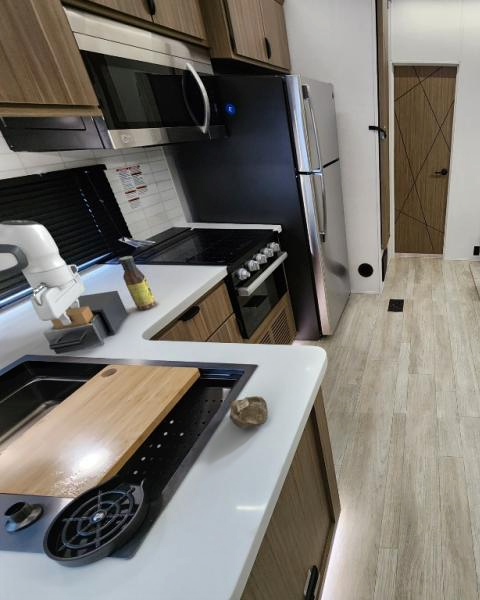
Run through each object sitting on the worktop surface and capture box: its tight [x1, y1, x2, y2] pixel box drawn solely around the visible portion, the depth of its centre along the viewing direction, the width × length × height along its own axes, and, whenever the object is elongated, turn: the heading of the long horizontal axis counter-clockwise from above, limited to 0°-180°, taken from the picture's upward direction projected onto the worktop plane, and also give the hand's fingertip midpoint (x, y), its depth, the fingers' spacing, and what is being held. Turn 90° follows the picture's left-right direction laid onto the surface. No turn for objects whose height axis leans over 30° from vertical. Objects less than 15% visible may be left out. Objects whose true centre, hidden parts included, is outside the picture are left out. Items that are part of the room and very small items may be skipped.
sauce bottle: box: [118, 255, 157, 311], centre depth 122 cm, size 7×6×20 cm
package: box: [50, 306, 94, 329], centre depth 100 cm, size 8×5×4 cm, turn 113°
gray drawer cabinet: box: [68, 290, 128, 337], centre depth 111 cm, size 15×13×10 cm
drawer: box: [42, 312, 110, 355], centre depth 102 cm, size 18×11×8 cm, turn 23°
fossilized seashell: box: [229, 395, 269, 429], centre depth 76 cm, size 8×7×10 cm
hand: (73, 318), depth 100 cm, fingers closed on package, 5 cm apart
